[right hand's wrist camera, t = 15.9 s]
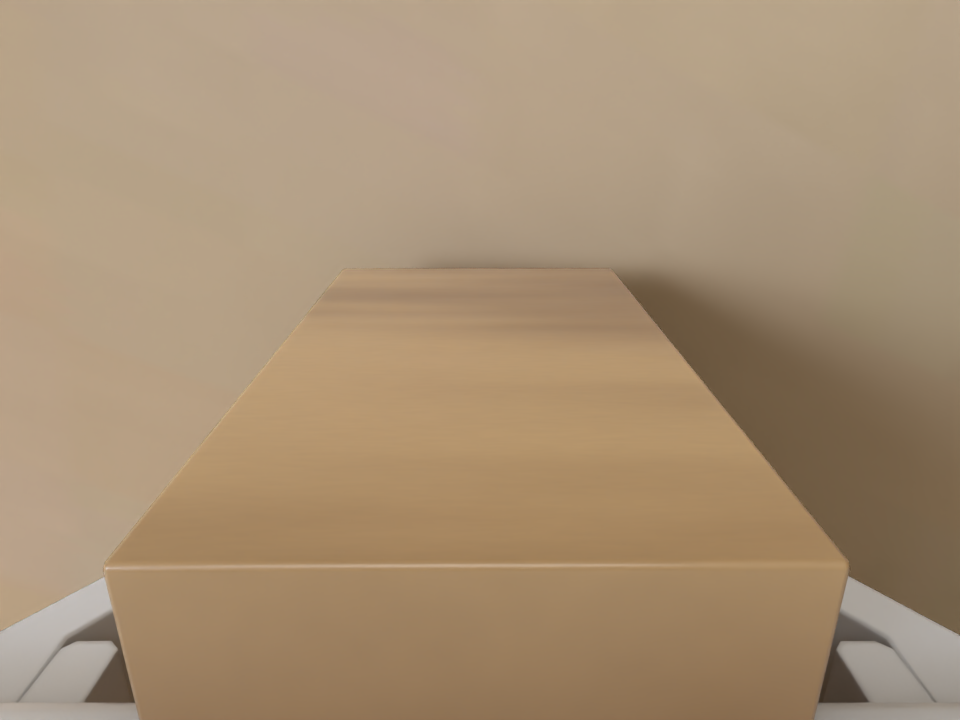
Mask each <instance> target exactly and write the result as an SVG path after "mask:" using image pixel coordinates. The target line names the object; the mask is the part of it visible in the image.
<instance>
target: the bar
mask: <svg viewBox="0 0 960 720" xmlns="http://www.w3.org/2000/svg"><path fill="white" fill-rule="evenodd" d="M849 571H850V568H849V563H848V560H847V558H846V557H845V556H844V555H843V553H842V552H841V551H840V550H839V549H838V547H837V546H836V545H835V544H834V542H833V541H832V540H831V539H830V537H829V536H828V535H827V534H826V532H825V531H824V530H823V529H822V528H821V526H820V525H819V524H818V523H817V521H816V520H815V519H814V518H813V516H812V515H811V514H810V513H809V512H808V510H807V509H806V508H805V507H804V505H803V504H802V503H801V502H800V500H799V499H798V498H797V497H796V496H795V494H794V493H793V492H792V491H791V489H790V488H789V487H788V486H787V484H786V483H785V482H784V481H783V480H782V478H781V477H780V476H779V475H778V473H777V472H776V471H775V470H774V468H773V467H772V466H771V465H770V464H769V462H768V461H767V460H766V459H765V457H764V456H763V455H762V454H761V452H760V451H759V450H758V449H757V447H756V446H755V445H754V444H753V443H752V441H751V440H750V439H749V438H748V436H747V435H746V434H745V433H744V431H743V430H742V429H741V428H740V427H739V425H738V424H737V423H736V422H735V420H734V419H733V418H732V417H731V415H730V414H729V413H728V412H727V411H726V409H725V408H724V407H723V406H722V404H721V403H720V402H719V401H718V399H717V398H716V397H715V396H714V395H713V393H712V392H711V391H710V390H709V388H708V387H707V386H706V385H705V383H704V382H703V381H702V380H701V379H700V377H699V376H698V375H697V374H696V372H695V371H694V370H693V369H692V367H691V366H690V365H689V364H688V362H687V361H686V360H685V359H684V358H683V356H682V355H681V354H680V353H679V351H678V350H677V349H676V348H675V346H674V345H673V344H672V343H671V342H670V340H669V339H668V338H667V337H666V335H665V334H664V333H663V332H662V330H661V329H660V328H659V327H658V326H657V324H656V323H655V322H654V321H653V319H652V318H651V317H650V316H649V314H648V313H647V312H646V311H645V310H644V308H643V307H642V306H641V305H640V303H639V302H638V301H637V300H636V298H635V297H634V296H633V295H632V294H631V292H630V291H629V290H628V289H627V287H626V286H625V285H624V284H623V282H622V281H621V280H620V279H619V277H618V276H617V275H616V274H615V273H614V271H613V270H612V269H610V268H446V269H343V270H342V271H341V272H340V274H339V275H338V276H337V277H336V279H335V280H334V281H333V282H332V283H331V285H330V286H329V287H328V288H327V290H326V291H325V292H324V293H323V295H322V296H321V297H320V298H319V299H318V301H317V302H316V303H315V304H314V306H313V307H312V308H311V309H310V311H309V312H308V313H307V314H306V315H305V317H304V318H303V319H302V320H301V322H300V323H299V324H298V325H297V326H296V328H295V329H294V330H293V331H292V333H291V334H290V335H289V336H288V338H287V339H286V340H285V341H284V342H283V344H282V345H281V346H280V347H279V349H278V350H277V351H276V352H275V354H274V355H273V356H272V357H271V358H270V360H269V361H268V362H267V363H266V365H265V366H264V367H263V368H262V370H261V371H260V372H259V373H258V374H257V376H256V377H255V378H254V379H253V381H252V382H251V383H250V384H249V386H248V387H247V388H246V389H245V390H244V392H243V393H242V394H241V395H240V397H239V398H238V399H237V400H236V402H235V403H234V404H233V405H232V406H231V408H230V409H229V410H228V411H227V413H226V414H225V415H224V416H223V418H222V419H221V420H220V421H219V422H218V424H217V425H216V426H215V427H214V429H213V430H212V431H211V432H210V434H209V435H208V436H207V437H206V438H205V440H204V441H203V442H202V443H201V445H200V446H199V447H198V448H197V449H196V451H195V452H194V453H193V454H192V456H191V457H190V458H189V459H188V461H187V462H186V463H185V464H184V465H183V467H182V468H181V469H180V470H179V472H178V473H177V474H176V475H175V477H174V478H173V479H172V480H171V481H170V483H169V484H168V485H167V486H166V488H165V489H164V490H163V491H162V493H161V494H160V495H159V496H158V497H157V499H156V500H155V501H154V502H153V504H152V505H151V506H150V507H149V509H148V510H147V511H146V512H145V513H144V515H143V516H142V517H141V518H140V520H139V521H138V522H137V523H136V525H135V526H134V527H133V528H132V529H131V531H130V532H129V533H128V534H127V536H126V537H125V538H124V539H123V541H122V542H121V543H120V544H119V545H118V547H117V548H116V549H115V550H114V552H113V553H112V554H111V555H110V556H109V558H108V559H107V560H106V561H105V564H104V568H103V573H104V578H105V582H106V586H107V590H108V594H109V598H110V602H111V606H112V610H113V614H114V618H115V623H116V627H117V631H118V635H119V639H120V643H121V647H122V651H123V655H124V659H125V664H126V668H127V672H128V676H129V680H130V684H131V688H132V692H133V696H134V700H135V704H136V709H137V713H138V717H139V720H814V718H815V714H816V710H817V705H818V701H819V697H820V693H821V688H822V684H823V680H824V676H825V672H826V667H827V663H828V659H829V655H830V651H831V646H832V642H833V638H834V634H835V629H836V625H837V621H838V617H839V613H840V608H841V604H842V600H843V596H844V592H845V587H846V583H847V579H848V575H849Z"/></svg>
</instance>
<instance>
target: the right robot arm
mask: <svg viewBox="0 0 960 720" xmlns="http://www.w3.org/2000/svg"><path fill="white" fill-rule="evenodd" d="M0 720H139V717H138V713H137V709H136V704H135V700H134V696H133V692H132V688H131V684H130V680H129V676H128V672H127V668H126V664H125V659H124V655H123V651H122V647H121V643H120V639H119V635H118V631H117V627H116V623H115V618H114V614H113V610H112V606H111V602H110V598H109V594H108V590H107V586H106V582H105V578H104V577H103V578H101V579H99V580H97V581H95V582H93V583H91V584H90V585H88V586H86V587H84V588H82V589H80V590H78V591H76V592H74V593H72V594H71V595H69V596H67V597H65V598H63V599H61V600H59V601H57V602H55V603H53V604H52V605H50V606H48V607H46V608H44V609H42V610H40V611H38V612H36V613H34V614H33V615H31V616H29V617H27V618H25V619H23V620H21V621H19V622H17V623H15V624H14V625H12V626H10V627H8V628H6V629H4V630H2V631H0ZM814 720H960V635H959V634H957V633H955V632H953V631H951V630H949V629H947V628H945V627H944V626H942V625H940V624H938V623H936V622H934V621H932V620H930V619H928V618H927V617H925V616H923V615H921V614H919V613H917V612H915V611H913V610H912V609H910V608H908V607H906V606H904V605H902V604H900V603H898V602H896V601H895V600H893V599H891V598H889V597H887V596H885V595H883V594H881V593H880V592H878V591H876V590H874V589H872V588H870V587H868V586H866V585H864V584H863V583H861V582H859V581H857V580H855V579H853V578H851V577H849V576H848V579H847V583H846V587H845V592H844V596H843V600H842V604H841V608H840V613H839V617H838V621H837V625H836V629H835V634H834V638H833V642H832V646H831V651H830V655H829V659H828V663H827V667H826V672H825V676H824V680H823V684H822V688H821V693H820V697H819V701H818V705H817V710H816V714H815V718H814Z"/></svg>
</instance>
